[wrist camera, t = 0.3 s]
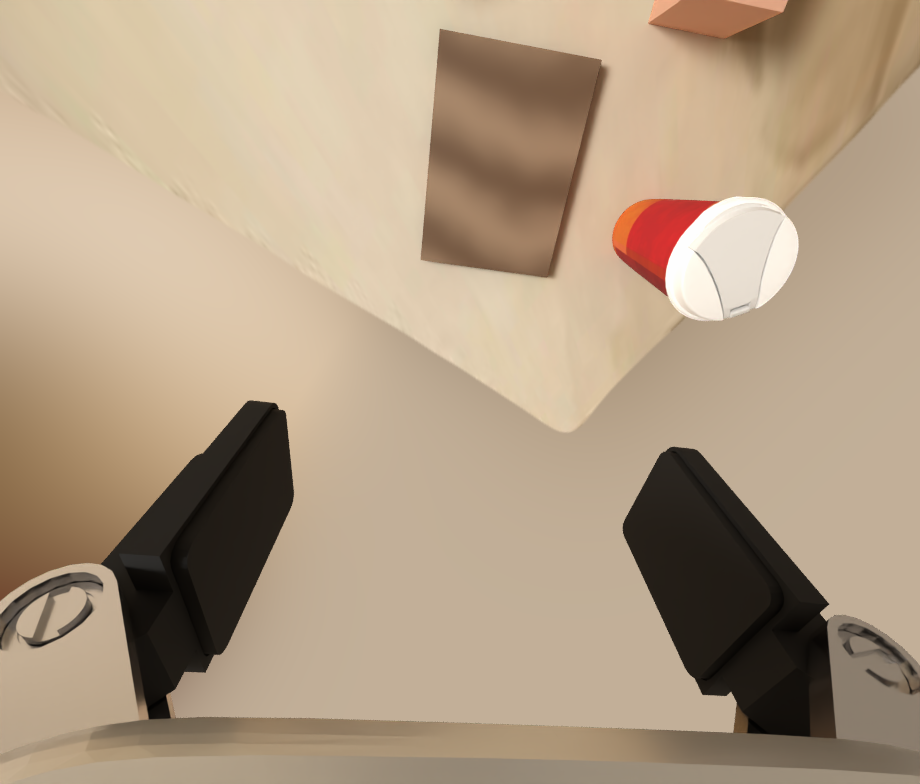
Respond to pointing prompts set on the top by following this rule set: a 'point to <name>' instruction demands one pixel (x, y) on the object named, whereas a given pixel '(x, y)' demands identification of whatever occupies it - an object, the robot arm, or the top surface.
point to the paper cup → (709, 252)
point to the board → (502, 151)
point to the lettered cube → (714, 15)
